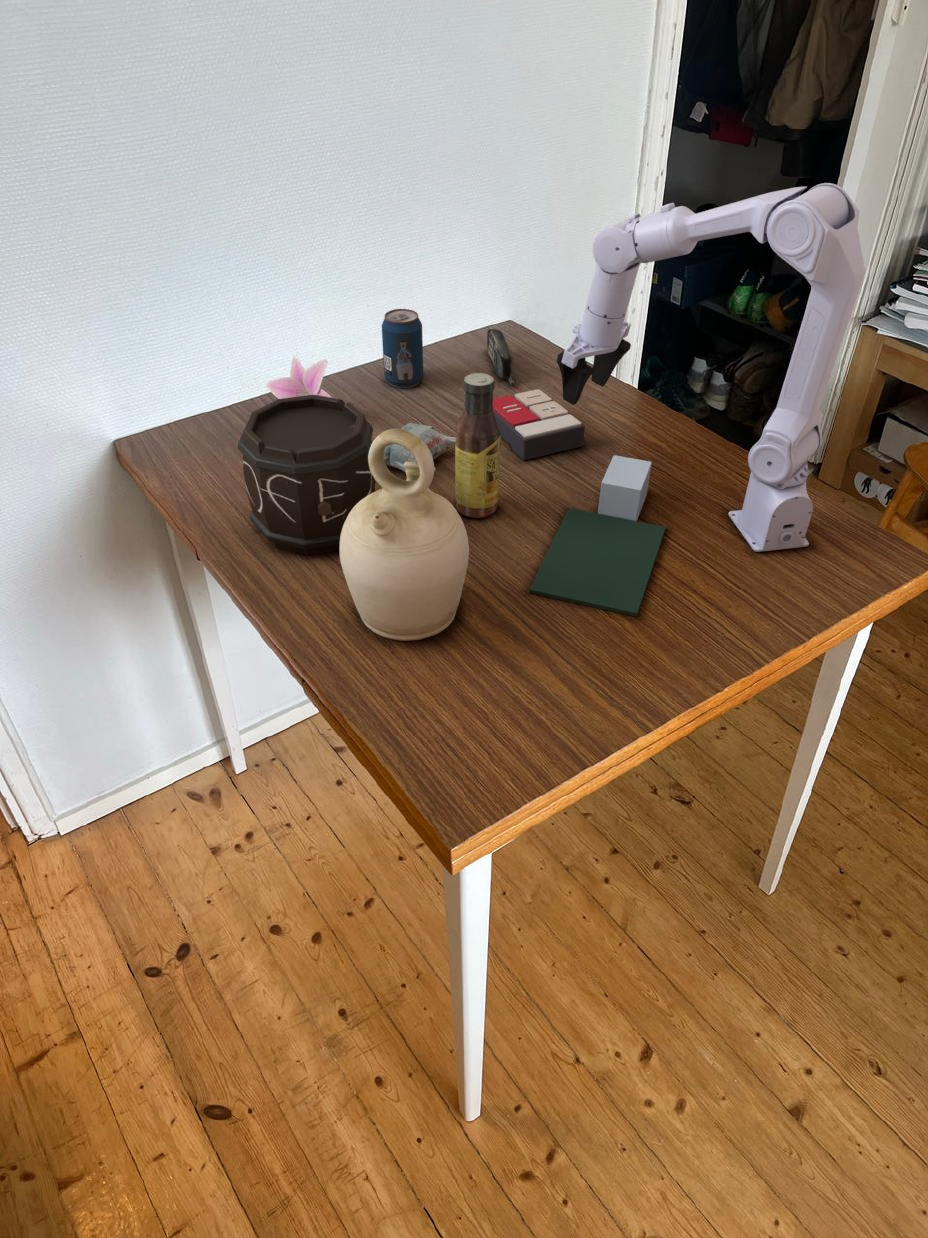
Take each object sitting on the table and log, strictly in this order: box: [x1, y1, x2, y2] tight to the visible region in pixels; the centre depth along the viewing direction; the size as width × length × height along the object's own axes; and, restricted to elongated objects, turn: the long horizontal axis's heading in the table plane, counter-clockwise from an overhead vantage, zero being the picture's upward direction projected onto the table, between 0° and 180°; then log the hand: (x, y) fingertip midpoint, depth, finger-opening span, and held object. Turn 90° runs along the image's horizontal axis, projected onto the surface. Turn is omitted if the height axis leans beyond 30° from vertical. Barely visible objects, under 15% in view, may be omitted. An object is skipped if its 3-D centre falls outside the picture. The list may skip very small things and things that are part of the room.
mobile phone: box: [486, 328, 515, 386], centre depth 167 cm, size 5×3×15 cm
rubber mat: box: [528, 507, 667, 617], centre depth 124 cm, size 20×14×1 cm
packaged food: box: [384, 422, 456, 473], centre depth 141 cm, size 9×12×5 cm
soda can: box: [381, 308, 424, 389], centre depth 160 cm, size 7×7×12 cm
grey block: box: [597, 454, 653, 521], centre depth 132 cm, size 8×6×6 cm
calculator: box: [493, 388, 586, 461], centre depth 149 cm, size 11×4×15 cm
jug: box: [339, 428, 470, 642], centre depth 108 cm, size 15×16×25 cm
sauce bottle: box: [454, 372, 502, 519], centre depth 127 cm, size 7×6×20 cm
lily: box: [265, 356, 333, 400], centre depth 152 cm, size 12×12×10 cm
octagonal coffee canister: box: [237, 395, 376, 556], centre depth 125 cm, size 18×18×16 cm
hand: (584, 392), depth 138 cm, fingers open, 7 cm apart
